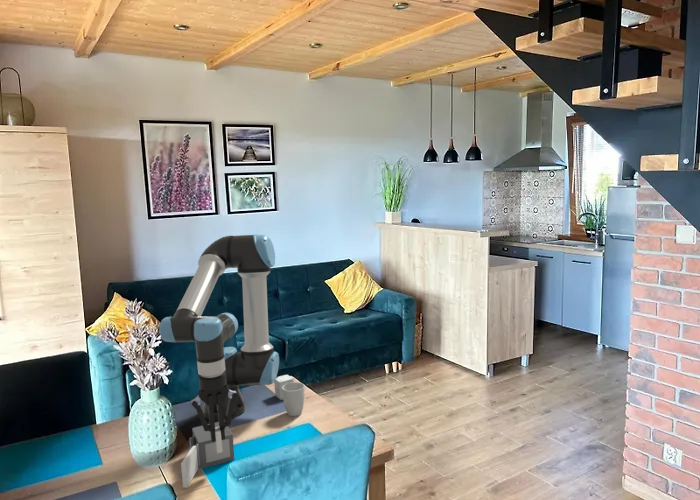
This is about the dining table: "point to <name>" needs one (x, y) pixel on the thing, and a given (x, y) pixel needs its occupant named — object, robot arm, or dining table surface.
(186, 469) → the side door
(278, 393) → the skincare box
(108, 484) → the dining table surface
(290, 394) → the cup
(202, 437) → the grey boxy piece
